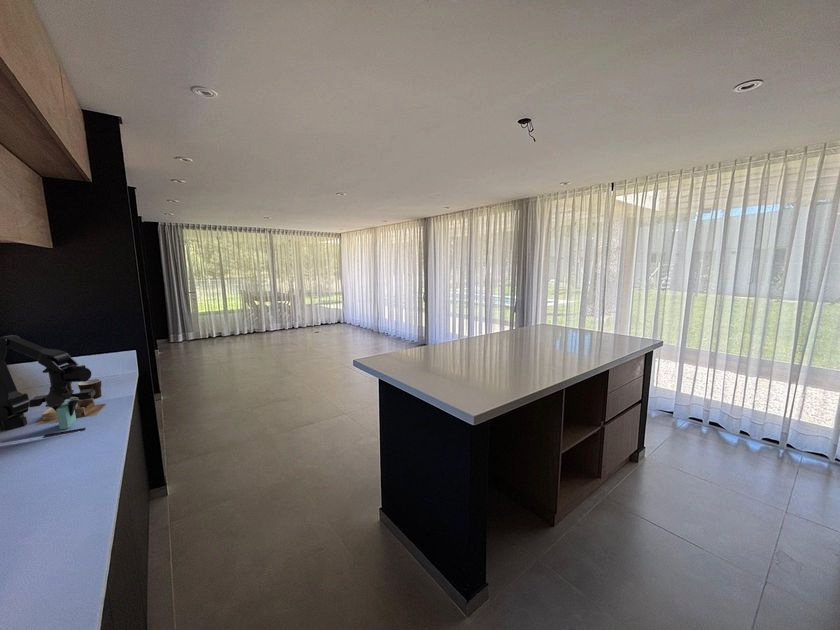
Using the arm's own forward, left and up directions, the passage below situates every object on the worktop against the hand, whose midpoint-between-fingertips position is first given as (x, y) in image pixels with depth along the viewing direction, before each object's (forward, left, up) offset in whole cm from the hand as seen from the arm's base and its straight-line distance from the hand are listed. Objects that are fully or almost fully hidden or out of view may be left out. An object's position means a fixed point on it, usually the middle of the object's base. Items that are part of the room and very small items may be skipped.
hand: (66, 416), depth 142 cm
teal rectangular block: (0, 0, -4) cm, 4 cm away
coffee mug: (-2, +32, -6) cm, 33 cm away
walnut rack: (-3, +14, -6) cm, 15 cm away
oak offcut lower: (-9, +14, -4) cm, 17 cm away
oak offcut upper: (-9, +14, -3) cm, 17 cm away
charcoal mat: (0, 0, -6) cm, 6 cm away
